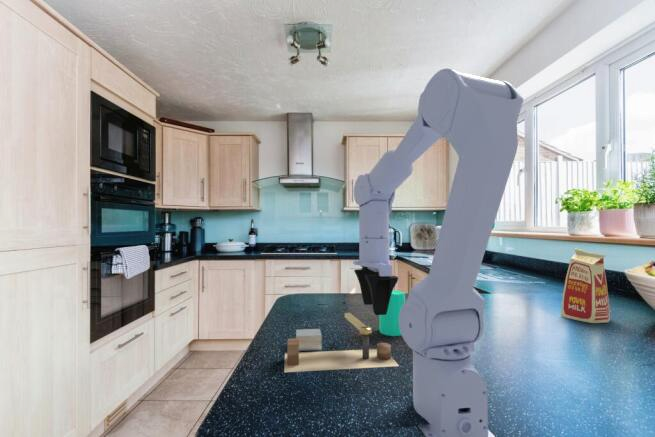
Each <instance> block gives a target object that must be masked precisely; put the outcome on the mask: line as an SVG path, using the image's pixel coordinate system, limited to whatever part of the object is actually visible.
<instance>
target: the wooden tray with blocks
mask: <svg viewBox="0 0 655 437" xmlns="http://www.w3.org/2000/svg"><path fill="white" fill-rule="evenodd" d="M361 335H362V337H361V338H362V349H349V350H345V349H344V350H327V351H325V350H324V351H307V352H306V351H304V352H303V351H302V352H300V351H299V340H298V338H296V337H295V338H287V349H286V350H287V351H286V352H285V353H284V366H283V367H284V368H283V372H284V373H301V372H303V373H304V372H318V371H336V370H338V371H339V370H354V369H357V370H358V369H374V368H392V367H395V368H396V367H400V365H399V364H398V363H397V361H396V360H395V359H394V358H393V357H392V345H391V344H390V343H388V342H378V343H377V344H376V348H370V335H363V334H361Z"/></svg>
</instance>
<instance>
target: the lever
mask: <svg viewBox="0 0 655 437" xmlns="http://www.w3.org/2000/svg"><path fill="white" fill-rule="evenodd" d="M344 318H345V319H346V320H347V321H348V322H349V323H351V324H352V325H353V326H354V327H355V328H356V329H357V330H358V331H359V334H360V335H362V334H363V335H369V336H370V335H372V327H371V326H367V325H366V324H365V323H363V322H362V321H361V320H360V319H358V318H357V317H356V316H354V315H353V314H352V313H351V312H344Z"/></svg>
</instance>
